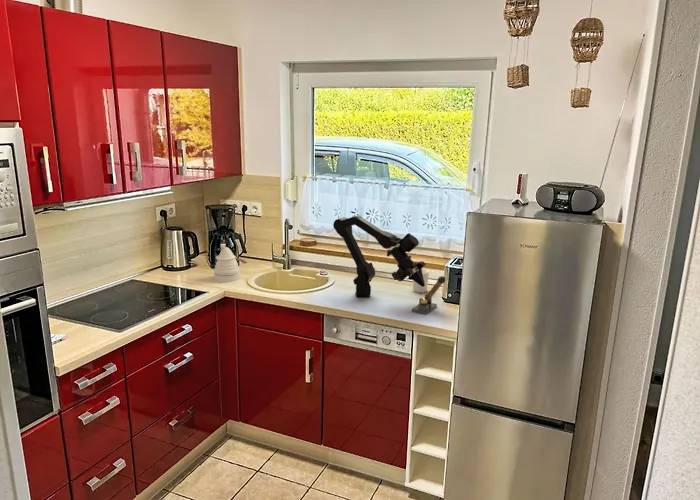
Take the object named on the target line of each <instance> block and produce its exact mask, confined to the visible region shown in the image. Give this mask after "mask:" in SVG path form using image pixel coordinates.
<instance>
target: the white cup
mask: <svg viewBox="0 0 700 500" xmlns="http://www.w3.org/2000/svg"><path fill="white" fill-rule="evenodd" d="M422 274H423V279H424V283H425V286H424V287H422V286H421V285H419V284H418V283H417V282H415V281H414V280H412V290H413V292H414V293H421V294H422V293H426V292H427V291H428V283H429V276H430V271H429V270H428V269H424V268H422Z"/></svg>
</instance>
